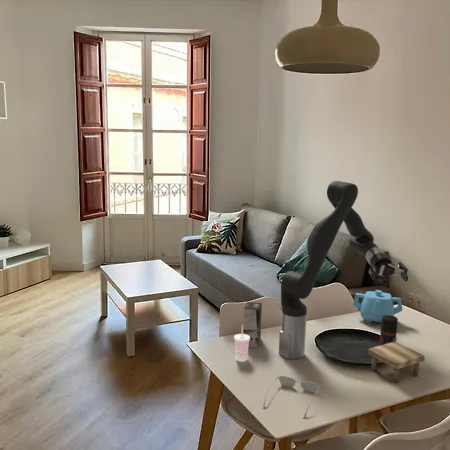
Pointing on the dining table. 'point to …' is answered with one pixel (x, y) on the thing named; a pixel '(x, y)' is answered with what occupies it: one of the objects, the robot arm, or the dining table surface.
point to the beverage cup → (241, 346)
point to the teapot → (376, 305)
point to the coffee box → (253, 322)
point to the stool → (395, 357)
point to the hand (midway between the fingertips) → (396, 281)
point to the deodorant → (388, 329)
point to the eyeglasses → (291, 382)
